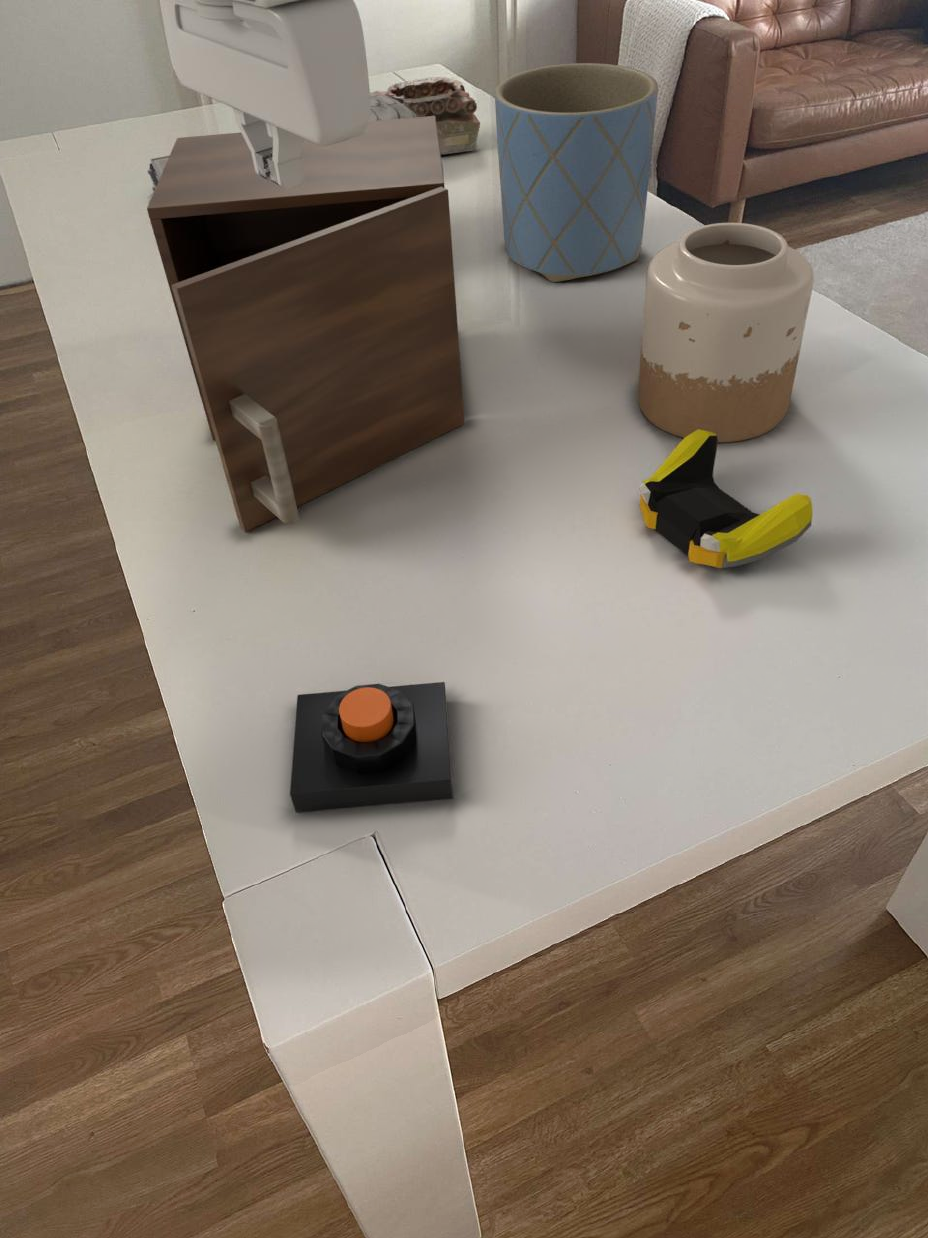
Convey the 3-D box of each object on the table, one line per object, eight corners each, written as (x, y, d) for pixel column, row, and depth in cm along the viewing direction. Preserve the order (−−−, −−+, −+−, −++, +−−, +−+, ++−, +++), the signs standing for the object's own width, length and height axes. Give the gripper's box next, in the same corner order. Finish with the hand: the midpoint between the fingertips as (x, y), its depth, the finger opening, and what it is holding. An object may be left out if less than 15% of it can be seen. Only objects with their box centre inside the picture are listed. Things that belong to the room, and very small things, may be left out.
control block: (295, 812, 67) (284, 778, 65) (302, 713, 74) (292, 678, 71) (453, 798, 68) (449, 763, 65) (446, 700, 74) (442, 665, 71)
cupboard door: (500, 446, 97) (491, 207, 81) (277, 563, 86) (213, 314, 70) (458, 419, 101) (441, 186, 85) (240, 527, 90) (171, 284, 74)
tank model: (487, 164, 152) (484, 96, 146) (360, 179, 151) (351, 111, 144) (474, 136, 162) (471, 71, 155) (354, 150, 161) (346, 85, 154)
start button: (342, 745, 67) (338, 729, 66) (343, 705, 69) (339, 689, 68) (394, 740, 67) (391, 724, 66) (393, 701, 69) (390, 684, 68)
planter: (675, 262, 124) (691, 91, 110) (543, 299, 119) (543, 125, 105) (597, 211, 137) (603, 53, 123) (475, 243, 132) (467, 81, 118)
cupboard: (461, 418, 101) (444, 182, 85) (212, 440, 101) (146, 208, 85) (451, 334, 114) (435, 115, 98) (231, 353, 114) (177, 137, 97)
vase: (796, 374, 104) (827, 216, 92) (778, 454, 94) (810, 289, 82) (654, 356, 108) (666, 204, 96) (621, 431, 98) (632, 271, 86)
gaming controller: (697, 467, 93) (613, 505, 90) (704, 418, 89) (617, 456, 86) (815, 551, 83) (726, 597, 80) (828, 500, 80) (735, 546, 76)
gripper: (115, -66, 63) (172, 156, 73) (276, -25, 51) (319, 235, 61) (201, -83, 66) (246, 134, 75) (374, -47, 54) (400, 205, 64)
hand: (280, 180), depth 68 cm, fingers closed
